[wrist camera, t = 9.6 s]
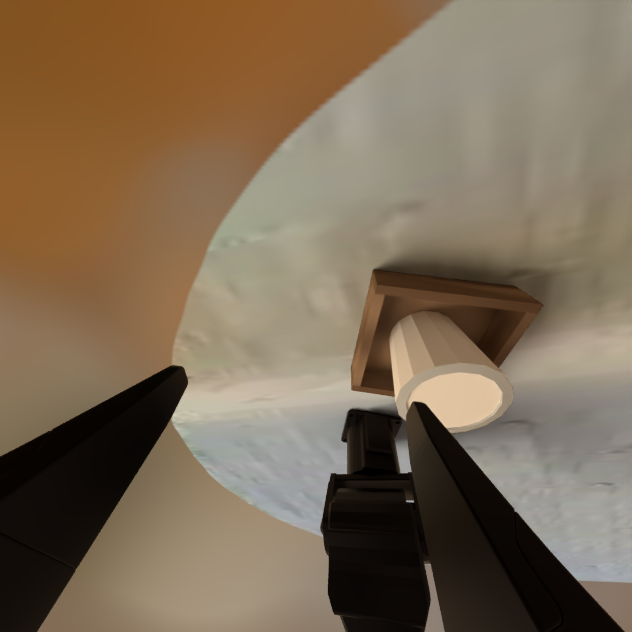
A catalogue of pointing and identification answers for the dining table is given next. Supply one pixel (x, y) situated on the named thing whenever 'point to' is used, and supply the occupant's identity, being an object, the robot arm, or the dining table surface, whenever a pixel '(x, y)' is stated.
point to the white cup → (445, 373)
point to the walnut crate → (446, 298)
